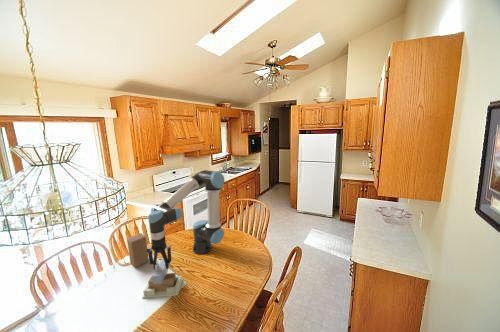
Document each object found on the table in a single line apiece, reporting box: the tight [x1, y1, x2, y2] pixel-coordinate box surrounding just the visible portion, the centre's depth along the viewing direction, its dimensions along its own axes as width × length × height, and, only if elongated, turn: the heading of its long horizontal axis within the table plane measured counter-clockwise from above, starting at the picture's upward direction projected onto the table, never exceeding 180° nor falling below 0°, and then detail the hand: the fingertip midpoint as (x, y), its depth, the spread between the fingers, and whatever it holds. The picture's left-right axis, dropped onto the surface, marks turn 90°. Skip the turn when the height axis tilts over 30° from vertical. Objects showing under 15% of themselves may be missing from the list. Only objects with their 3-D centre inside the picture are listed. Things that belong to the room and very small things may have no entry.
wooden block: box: [126, 232, 149, 268], centre depth 151 cm, size 10×10×20 cm
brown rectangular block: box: [147, 272, 177, 292], centre depth 125 cm, size 6×14×7 cm, turn 95°
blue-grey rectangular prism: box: [151, 258, 171, 284], centre depth 124 cm, size 16×4×5 cm, turn 4°
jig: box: [141, 275, 184, 299], centre depth 126 cm, size 13×20×4 cm, turn 94°
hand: (162, 273), depth 124 cm, fingers closed on blue-grey rectangular prism, 4 cm apart
